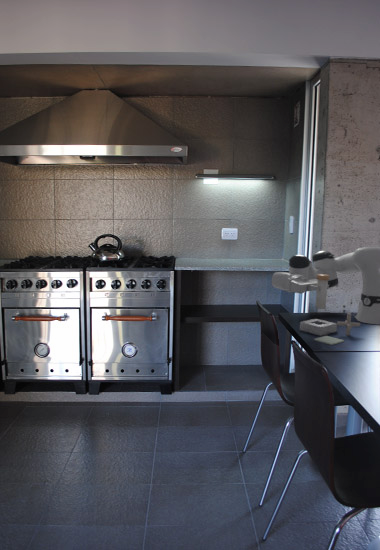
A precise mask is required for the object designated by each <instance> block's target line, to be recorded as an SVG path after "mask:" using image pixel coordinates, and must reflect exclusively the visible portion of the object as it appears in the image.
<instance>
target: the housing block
mask: <svg viewBox="0 0 380 550" xmlns="http://www.w3.org/2000/svg"><path fill="white" fill-rule="evenodd" d="M337 330H338V325H337V322H331V321H327V320H323V319H318V318H312V319H307V320H303V321H302V320H301V321H300V323H299V331H300V332H301V331H302V332H306V333H308V332H309V334H313V335H317V336H320V337H323V336H327V335H330V334H334V333H337Z"/></svg>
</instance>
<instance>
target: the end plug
mask: <svg viewBox="0 0 380 550" xmlns="http://www.w3.org/2000/svg"><path fill="white" fill-rule="evenodd" d="M328 280H329V275H325V274H317V286H319V287H321V288H320V291H316V290H315V291H316V295H315V304H314V305H315V306H314V308H315V309H319V310H325V309H326V307H327V306H326V305H327V295H328V289H327V285H328Z"/></svg>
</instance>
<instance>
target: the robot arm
mask: <svg viewBox="0 0 380 550" xmlns="http://www.w3.org/2000/svg"><path fill="white" fill-rule="evenodd" d="M334 256H335V254H332V252H330V251H327V250H319V251H317V252H316V253H314V254H313V255H312V258H311V259H312V261H311V259H310V258H309V257H308V256H306V255H303V254H295V255H292V256H291V257H290V259H288V267H289V268H288V272H286V271H285V272H284V271H278V272H277V271H275V272H274V273H273V274H272V276H271V285H272V286H273V288H276V289H279V290H281V291H286V292H287V293H294V294H300V295H301V294H304V293H306V292H312V291H320V288H321V287H319V286H317V274H325V275H329V280H328V285H327V290H331V289H333V288H335V287H336V286H338V284H339V278H338V274H337V273H339V274H345V275H346V274H355V273H361V277H362V292H361V294H360V301H359V303H358V307H357V313H356V315H354V318H355V319H356V321H358V322H359V323H365V324H370V325H380V246H364V247H359V248H357V249H355V251H353V252H348V253H345V254H343V255H340V256H338V257H334ZM312 263H313V264H312Z"/></svg>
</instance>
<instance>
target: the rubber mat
mask: <svg viewBox="0 0 380 550" xmlns="http://www.w3.org/2000/svg"><path fill="white" fill-rule="evenodd" d="M313 341H315V342H320V343H323V344H326V345H330V346H333V345H337V344H341V343H344V341H345V340H344V339H340V338H338V337H337V338H336V337H332V336H328V335H322V336H320V337H316V338H313Z"/></svg>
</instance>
